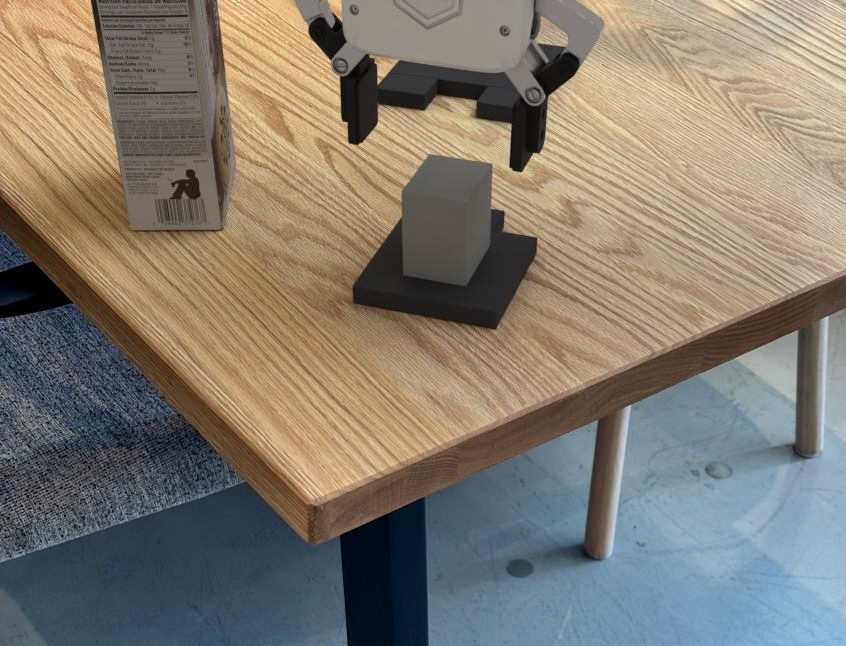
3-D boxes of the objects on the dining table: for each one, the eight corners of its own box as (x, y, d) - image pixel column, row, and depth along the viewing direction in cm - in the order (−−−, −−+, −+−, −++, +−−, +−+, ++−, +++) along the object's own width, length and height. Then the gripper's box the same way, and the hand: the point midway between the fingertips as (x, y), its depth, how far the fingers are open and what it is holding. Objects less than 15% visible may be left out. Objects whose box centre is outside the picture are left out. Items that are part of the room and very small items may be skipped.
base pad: (567, 61, 106) (568, 46, 105) (527, 124, 98) (528, 109, 97) (426, 43, 109) (426, 28, 108) (375, 102, 101) (374, 87, 100)
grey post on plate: (547, 234, 86) (553, 135, 81) (496, 329, 78) (499, 226, 73) (416, 212, 88) (415, 115, 84) (352, 302, 80) (347, 200, 75)
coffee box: (147, 167, 93) (109, -72, 82) (238, 166, 93) (212, -73, 82) (126, 232, 86) (82, -19, 76) (225, 231, 86) (195, -20, 76)
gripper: (254, -175, 64) (277, 152, 76) (603, -138, 60) (571, 203, 71) (313, -212, 70) (326, 99, 81) (637, -180, 65) (603, 143, 77)
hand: (441, 147), depth 76 cm, fingers open, 9 cm apart
